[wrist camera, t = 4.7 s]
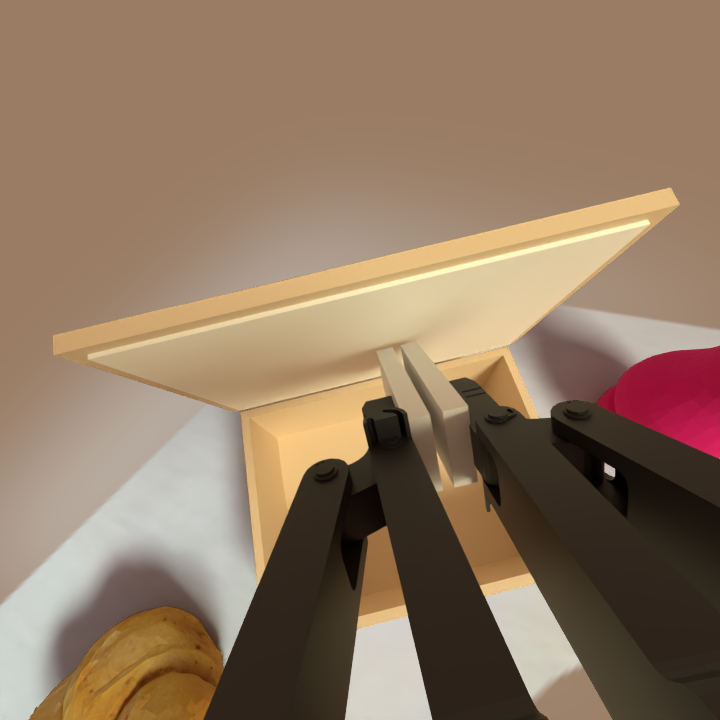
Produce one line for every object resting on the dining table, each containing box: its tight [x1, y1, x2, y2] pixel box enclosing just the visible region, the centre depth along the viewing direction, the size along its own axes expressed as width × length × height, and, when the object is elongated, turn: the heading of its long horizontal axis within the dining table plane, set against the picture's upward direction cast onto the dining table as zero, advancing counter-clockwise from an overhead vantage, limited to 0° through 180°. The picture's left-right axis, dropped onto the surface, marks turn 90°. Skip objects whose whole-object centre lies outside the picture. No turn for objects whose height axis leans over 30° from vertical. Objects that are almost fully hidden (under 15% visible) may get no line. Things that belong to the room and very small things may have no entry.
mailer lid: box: [53, 188, 679, 411], centre depth 18 cm, size 19×14×1 cm
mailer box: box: [240, 347, 539, 629], centre depth 25 cm, size 18×13×7 cm
